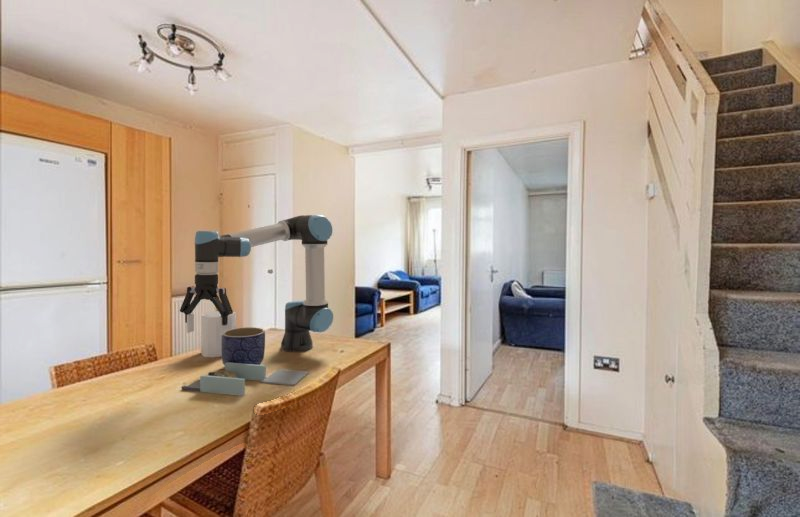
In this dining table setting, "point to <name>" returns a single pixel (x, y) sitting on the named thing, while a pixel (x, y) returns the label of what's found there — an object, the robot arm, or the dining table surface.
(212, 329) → the container
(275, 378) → the pad
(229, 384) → the trough
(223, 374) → the rock
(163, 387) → the dining table surface
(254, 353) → the planter
